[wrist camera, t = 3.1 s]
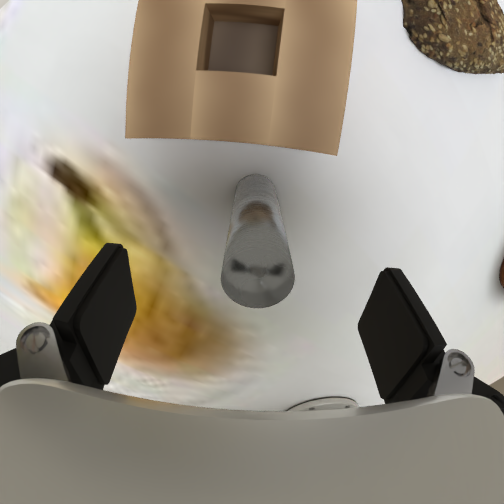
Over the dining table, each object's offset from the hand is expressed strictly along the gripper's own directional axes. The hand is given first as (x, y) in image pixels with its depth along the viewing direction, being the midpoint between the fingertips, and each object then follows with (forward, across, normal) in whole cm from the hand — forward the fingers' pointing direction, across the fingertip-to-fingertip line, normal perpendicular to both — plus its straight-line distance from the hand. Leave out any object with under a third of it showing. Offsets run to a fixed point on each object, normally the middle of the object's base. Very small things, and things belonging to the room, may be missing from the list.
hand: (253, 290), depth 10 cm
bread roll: (+13, -15, -20) cm, 28 cm away
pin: (+12, 0, +1) cm, 12 cm away
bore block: (+13, +2, -10) cm, 16 cm away
